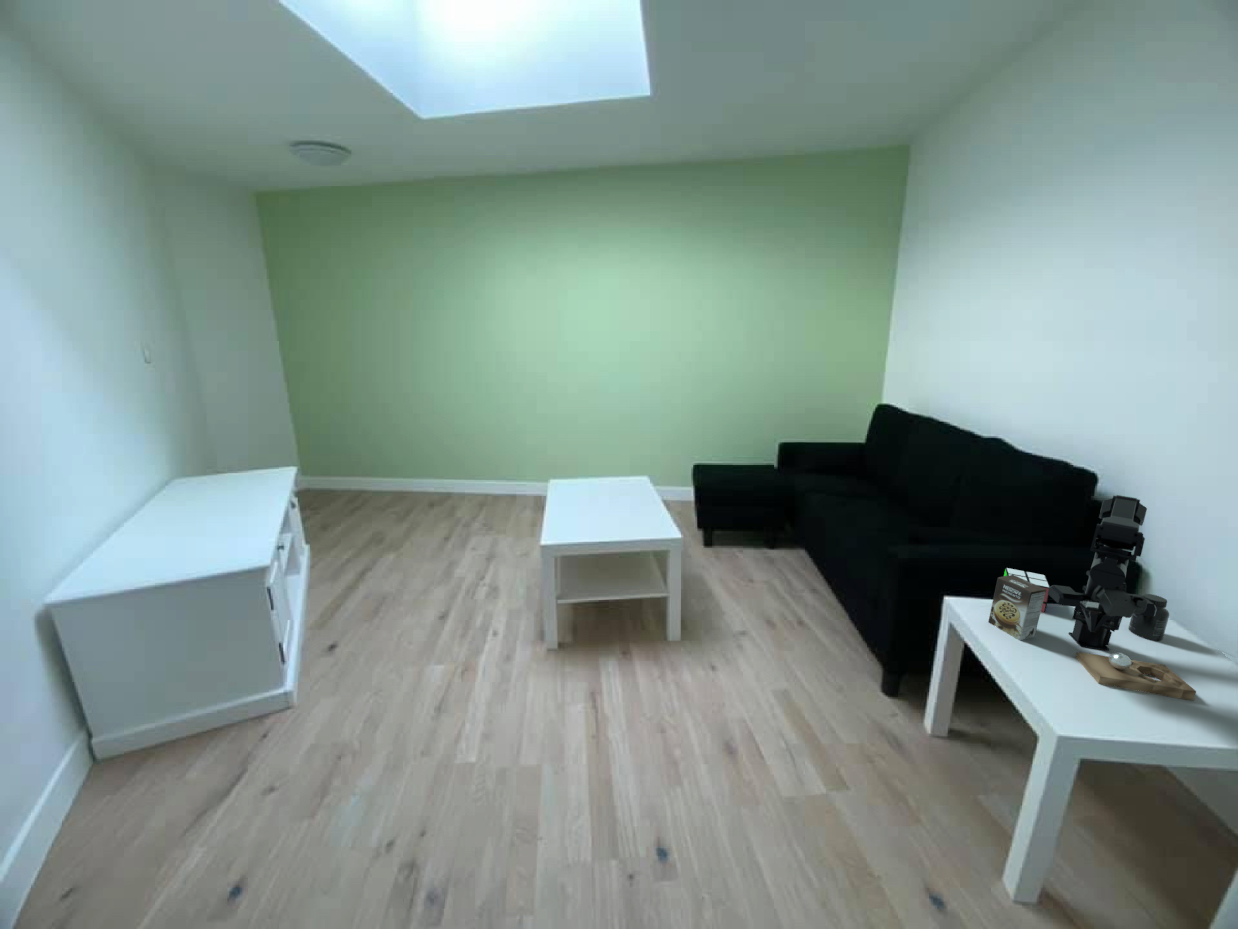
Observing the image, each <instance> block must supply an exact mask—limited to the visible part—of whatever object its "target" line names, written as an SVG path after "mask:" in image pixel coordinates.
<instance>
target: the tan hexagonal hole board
mask: <svg viewBox="0 0 1238 929" xmlns="http://www.w3.org/2000/svg"><path fill="white" fill-rule="evenodd" d="M1075 659H1076V660H1077V661H1078V662H1079V663H1080V665H1081V666H1082V667H1083V668H1084V669H1085V670H1086V671H1087V672H1088V674H1089V675H1090V676H1091V677H1092V678H1093V679H1094V681H1096V683H1097V684H1098V685H1104V686H1108V687H1114V688H1119V689H1125V690H1129V691H1131V690H1132V691H1136V692H1140V693H1141V692H1142V693H1146V694H1147V693H1148V694H1152V695H1158V696H1162V697H1163V696H1164V697H1170V698H1176V699H1181V700H1187V701H1194V700H1195V697H1196V693H1197V690H1195V689H1194V688H1193V687H1192V686H1191V685H1190V684H1188V683H1187V682H1186V681H1185V680H1183V678H1181V677H1180V676H1179V675H1177V674H1176V673H1175V672H1174V671H1173V670H1171V669H1170V668H1169V667H1168V666H1167V665H1166V664H1162V663H1155V662H1154V663H1153V662H1150V661H1149V662H1147V661H1141V660H1133V659H1130V660H1131V662H1132V665H1131V667H1130V668H1129V669H1127V670H1119V669H1117V668H1115V667H1113V666H1112V665H1111V664H1110V662H1109V656H1106V655H1101V654H1099V655H1098V654H1091V653H1085V652H1081V651H1080V652H1079V651H1077V652H1076V654H1075ZM1147 675H1148V676H1147Z"/></svg>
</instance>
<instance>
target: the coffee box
mask: <svg viewBox="0 0 1238 929" xmlns="http://www.w3.org/2000/svg"><path fill="white" fill-rule="evenodd" d="M1045 594H1046V589H1045V588H1042V587H1040V586H1038V585H1035V584H1033V583H1031V582H1028V581H1026V580H1024V579H1021V578H1019V577H1017V576H1015V575H1010V576H1004V575H1003V576H999V577H997V579H996V585H995V588H994V594H993V597H992V601H991V602H992V604H991V608H990V612H989V616H988V617H989V618H988V624H990V625H992V626H994V627H995V626H996V628H997V629H999V630H1000V631H1002V632H1004V633H1006V634H1008V635H1010V637H1013V638H1014V639H1016V640H1018V641H1024V640H1027V639H1032V638H1034V637H1035V636H1036V632H1037V629H1038V625H1039V620H1040V616H1041V613H1042V612H1041V609H1042V605H1043V601H1044V597H1045Z"/></svg>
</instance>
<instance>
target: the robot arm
mask: <svg viewBox="0 0 1238 929" xmlns="http://www.w3.org/2000/svg"><path fill="white" fill-rule="evenodd" d="M1147 510H1148V508H1147V507H1146V506H1145V505H1143V504H1142V503H1141V499H1139V498H1137V497H1131V496H1125V495H1112V498H1110V499H1109V498H1107V499H1105V500H1103V501H1102V503H1101V508H1100V512H1099V515H1098V518H1099V519H1101V521H1100V524H1099V523H1096V525H1095V526H1096V528H1095V530H1094V534H1093V538H1092V542H1091V546H1090V548H1089V551H1090V552H1092V553H1093V552H1094V557H1093V561H1092V564H1091V567H1090V570H1087V571H1086V572H1085V574H1086V575H1087V576H1088V580H1087V584H1086V585H1082V591H1083V592H1076V591H1075V590H1074V589H1073V588H1072V587H1070V586H1066V585H1058V584H1053V585H1051V586H1050V588H1049V590H1048V595H1049V597H1050V598H1052V599H1053V600H1054V602H1056V603H1057V604H1058V605H1060V606H1067V607H1073V608H1074V610H1073V616H1072V618H1071V619H1072V620H1075V622H1074V625H1073V629H1072V630H1073V631H1072V632H1068V633H1067V634H1068V635H1069V636H1070V637H1071V638H1072V639H1073V640H1074V641H1075V642H1076V644H1077V645H1078V646H1079V647H1081V648H1087V649H1094V650H1101V651H1108V652H1109V651H1110V650H1111V648H1110V647H1109V644H1110V642H1111V636H1112V633H1114V632H1115V631H1119V629H1120V627H1121V622H1122V620H1123V618H1125V619H1129V618H1130V619H1131V616H1132V615H1133V614H1134V613H1138V614H1139V615H1144V616H1152V617H1154V616H1155V614H1156V611H1157V609H1156V606H1155V605H1154V604H1153V603H1152V602H1150V601H1149V600H1147V599H1146V598H1145V597H1143V596H1142V595H1143V594H1135V593H1128V592H1127V587H1128V586H1127V583H1126V577H1127V568H1128V566H1129V561H1134V562H1136V561H1137V557H1142V552H1143V548H1144V544H1145V541H1146V540H1145V539H1146V538H1145V537H1144V533H1143V532H1141V531H1140V526H1141V527H1142V526H1143V525H1144V523H1145V518H1146V514H1147V512H1148V511H1147ZM1096 543H1097V544H1096ZM1132 551H1133V554H1132Z"/></svg>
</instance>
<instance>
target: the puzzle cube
mask: <svg viewBox="0 0 1238 929" xmlns="http://www.w3.org/2000/svg"><path fill="white" fill-rule="evenodd" d="M1010 575H1015V576H1017V577H1019V578H1021V579H1024V580H1026V581H1028V582H1031V583H1033V584H1035V585H1038V586H1040V587H1042V588H1045V589H1046V594H1045V597H1044V601H1043V605H1042V609H1041V613H1044V614H1045V613H1046V610H1047V607H1048V601H1049V598H1050V596H1049V595H1048V590H1049V588H1050V587H1051V586H1050V583H1049V581H1048V579H1047V577H1046V575H1044V574H1040V573H1035V572H1030V571H1024V570H1019V569H1016V568H1014V569H1013V568H1010V567H1009V568H1008V567H1006V568H1004V574H1003V576H1010Z"/></svg>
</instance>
